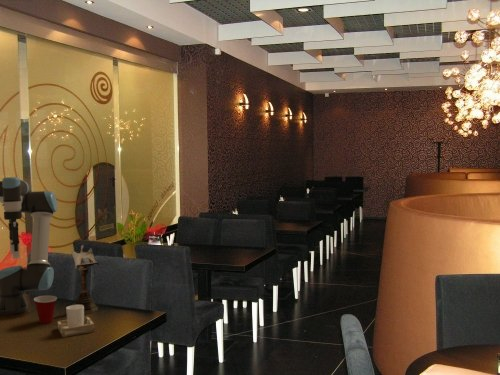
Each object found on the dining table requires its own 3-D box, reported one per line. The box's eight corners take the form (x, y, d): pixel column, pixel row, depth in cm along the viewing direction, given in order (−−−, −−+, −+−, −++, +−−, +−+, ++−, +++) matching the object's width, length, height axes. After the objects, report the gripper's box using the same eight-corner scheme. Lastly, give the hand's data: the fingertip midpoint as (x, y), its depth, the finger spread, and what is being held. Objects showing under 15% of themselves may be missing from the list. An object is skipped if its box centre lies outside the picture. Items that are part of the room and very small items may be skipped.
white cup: (67, 332, 242) (66, 310, 241) (66, 327, 249) (65, 305, 248) (85, 329, 245) (84, 307, 244) (83, 324, 252) (82, 303, 252)
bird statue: (105, 313, 272) (102, 245, 270) (78, 318, 266) (75, 248, 264) (97, 306, 287) (94, 241, 285) (72, 310, 281) (69, 243, 278)
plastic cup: (50, 325, 255) (49, 301, 254) (30, 324, 257) (28, 300, 256) (62, 318, 265) (61, 295, 265) (43, 318, 267) (41, 294, 267)
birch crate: (57, 328, 250) (57, 321, 250) (88, 323, 257) (87, 316, 257) (62, 337, 238) (62, 329, 238) (94, 331, 245) (94, 324, 244)
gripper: (1, 209, 256) (4, 252, 258) (5, 213, 234) (8, 261, 236) (18, 208, 260) (21, 251, 261) (24, 212, 238) (26, 259, 239)
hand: (15, 256), depth 248 cm, fingers open, 13 cm apart
